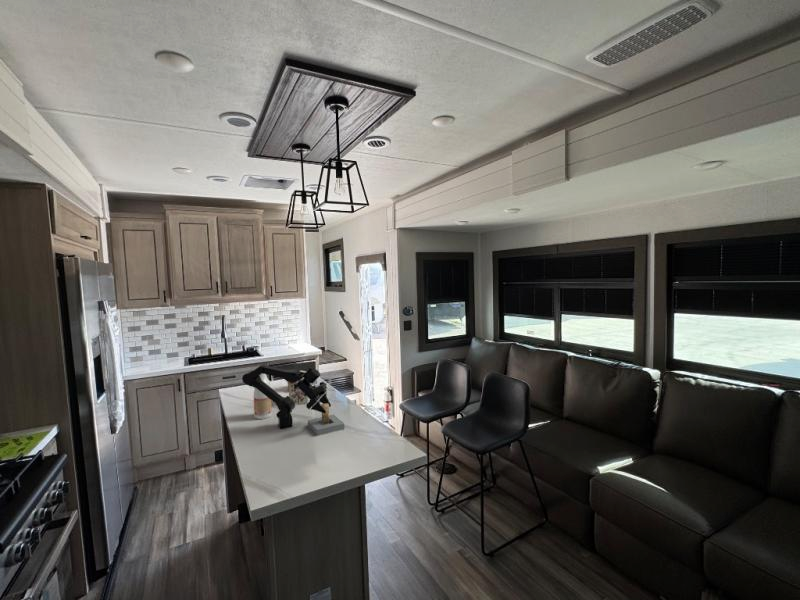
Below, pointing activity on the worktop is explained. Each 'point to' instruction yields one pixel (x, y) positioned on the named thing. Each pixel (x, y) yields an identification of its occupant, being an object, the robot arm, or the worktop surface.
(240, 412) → the worktop surface
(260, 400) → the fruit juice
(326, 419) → the oak peg
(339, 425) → the charcoal socket board
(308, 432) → the worktop surface
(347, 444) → the worktop surface
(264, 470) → the worktop surface
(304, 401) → the decorative jar
